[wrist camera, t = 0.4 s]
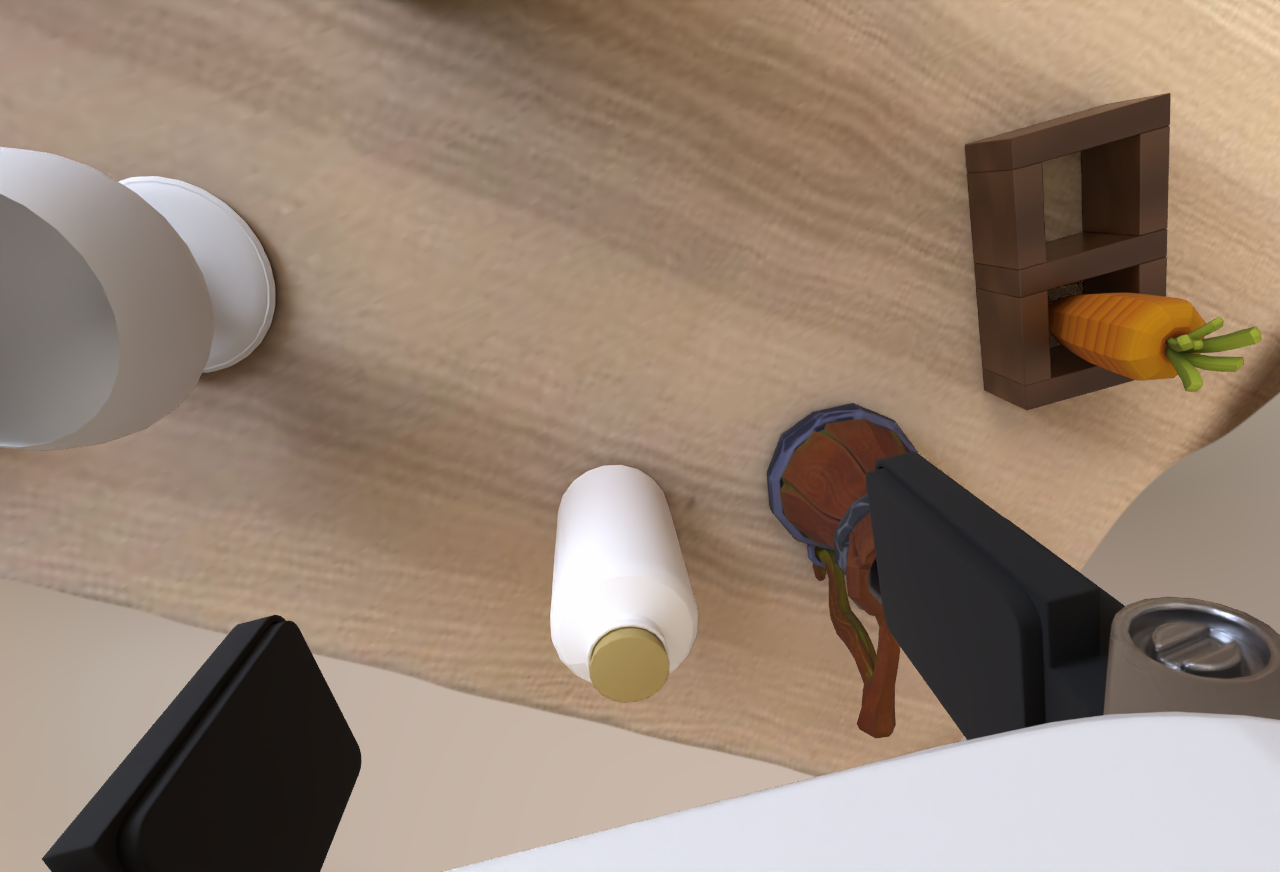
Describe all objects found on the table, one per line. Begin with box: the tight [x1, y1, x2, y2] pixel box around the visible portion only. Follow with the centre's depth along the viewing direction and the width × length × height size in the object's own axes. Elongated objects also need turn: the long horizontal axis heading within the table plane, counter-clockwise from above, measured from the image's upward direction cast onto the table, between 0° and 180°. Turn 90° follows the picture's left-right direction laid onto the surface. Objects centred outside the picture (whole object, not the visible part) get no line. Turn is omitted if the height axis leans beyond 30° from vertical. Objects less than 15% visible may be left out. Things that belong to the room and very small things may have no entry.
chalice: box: [0, 147, 275, 451], centre depth 35 cm, size 14×14×15 cm
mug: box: [767, 403, 918, 738], centre depth 44 cm, size 18×12×15 cm, turn 174°
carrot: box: [1048, 292, 1261, 392], centre depth 40 cm, size 5×5×15 cm
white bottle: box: [550, 465, 698, 702], centre depth 41 cm, size 8×8×18 cm
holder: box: [965, 93, 1170, 410], centre depth 44 cm, size 17×10×5 cm, turn 15°
